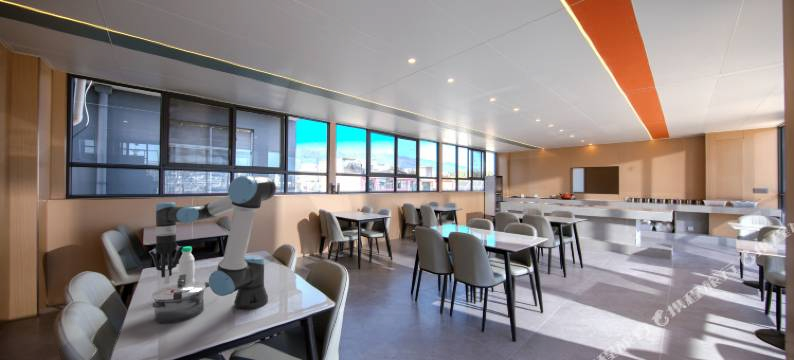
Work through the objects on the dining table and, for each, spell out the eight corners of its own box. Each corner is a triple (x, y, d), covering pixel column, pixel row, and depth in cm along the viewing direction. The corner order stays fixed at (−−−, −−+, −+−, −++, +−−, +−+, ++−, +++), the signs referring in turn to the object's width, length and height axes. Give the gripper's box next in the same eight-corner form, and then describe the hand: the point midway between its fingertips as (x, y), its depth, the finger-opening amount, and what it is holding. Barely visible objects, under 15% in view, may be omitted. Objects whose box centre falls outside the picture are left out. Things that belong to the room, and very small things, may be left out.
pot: (173, 328, 121) (173, 304, 121) (138, 323, 125) (138, 300, 125) (224, 302, 147) (224, 282, 147) (193, 299, 151) (193, 280, 151)
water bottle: (197, 290, 163) (197, 246, 163) (184, 295, 156) (184, 248, 157) (188, 289, 165) (188, 245, 165) (175, 293, 159) (175, 247, 159)
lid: (205, 295, 129) (205, 286, 129) (147, 306, 118) (147, 296, 118) (206, 278, 153) (206, 270, 153) (158, 285, 142) (158, 277, 142)
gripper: (150, 237, 133) (150, 289, 133) (184, 233, 143) (185, 281, 143) (147, 235, 138) (147, 285, 138) (180, 231, 148) (180, 278, 148)
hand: (166, 283), depth 140 cm, fingers closed
